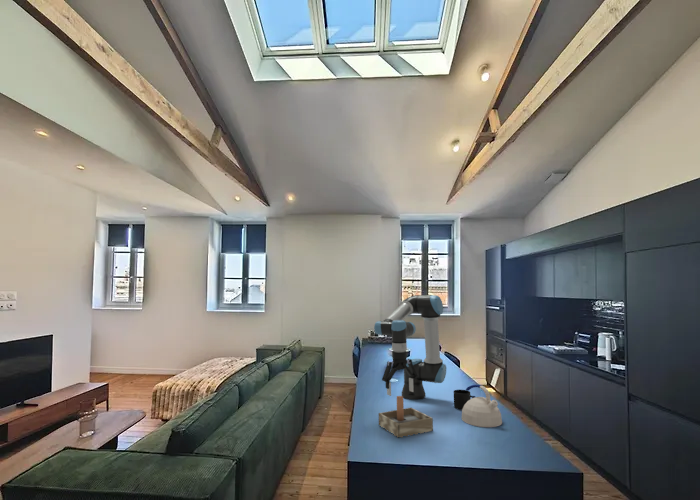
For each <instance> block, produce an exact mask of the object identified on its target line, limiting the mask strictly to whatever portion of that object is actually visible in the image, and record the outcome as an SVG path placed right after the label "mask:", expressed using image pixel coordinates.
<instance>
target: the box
mask: <svg viewBox="0 0 700 500" xmlns="http://www.w3.org/2000/svg"><path fill="white" fill-rule="evenodd" d="M433 421H434V419H433V417H431V416H429V415H428V414H425V413H424V412H422V411H419V410H417V409H416V408H413V407H407V408H404V420H403V421H398V420H397V409H395V410H389V411H384V412H378V426H379V425H380V426H381V428H382V427H383V428H385V429H386V430H385V429H384V430H385V431H387V430H388V431H389V432H388V431H387V432H388V433H390V432H391V433H393V434H394V435H393V434H392V435H393V436H395V437H396V436H397V437H396V438H398V437H401V438H404V437H403V436H406V437H409V436H408V435H410V436H414V435H413V434H415V435H419V434H418V433H420V434H425V433H429V432H432V431H433V432H434V422H433ZM380 426H379V427H380ZM383 428H382V429H383ZM424 432H425V433H424ZM391 433H390V434H391Z"/></svg>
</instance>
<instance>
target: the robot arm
mask: <svg viewBox="0 0 700 500" xmlns="http://www.w3.org/2000/svg"><path fill="white" fill-rule="evenodd" d="M443 312H444V305H443V301H442V299H441V297H440V296H438V295H432V294H426V295H425V294H423V295H422V294H421V295H419V294H415V295H411V296H409V297H407V298H405V299H404V300H402V301H401V302H400V303H399V304H398V306H397V308H395V309H394V311H392V312H391V313H390V314H389V315H388V316H387V317H386V318H384V319H383V321H382V320H379V321H375V323H374V325H373V326H374V327H373V328H374V329H373V330H374V333H375V334H376V335H380V336H388V337H389V336H391V350H392V352H391V358H392V361H389V360H388V361H387V362H386V367H385V370H384V373H383V375H382V378H381V381H382V382H385V389H386V395H387V396H389V397H390V396H392V382H391V380H392V378H393V377H394V376H395V373H396V372H397V371H400V370H403V386H402V391H401V396H403V399H406V400H410V401H411V400H413V401H417V400H423V399H425V398H426V391H425V388H424V385H423V382H428V383H434V384H442V383H444V381H445V379H446V376H447V365H446V364H445V363H443V359H442V358H441V355H440V354H441V352H440V351H441V350H440V333H439V319H440V318H441V315H442V314H443ZM412 314H418V315H420V317H421V318H422V320H423V325H424V326H423V329H424V343H425V344H424V345H425V346H424V347H425V358H424V359H422V358H408V353H407V352H408V351H407V345H408V344H407V343H408V342H407V338H409V337H411V336H413V335H414V334H415V333H416V331H417V329H416V325H415V323H413V322H411V321H405V319H406V318H407V317H408V316H411V315H412Z"/></svg>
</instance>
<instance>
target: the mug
mask: <svg viewBox="0 0 700 500" xmlns="http://www.w3.org/2000/svg"><path fill="white" fill-rule="evenodd" d="M472 396H473V395H471V391H470V390H469V391H468V390H466V389H454V390H453V407H454V409H456V410H461V411H462V409H463V407H464V405H465V404H466V402H467V401H469V400H470V399H472ZM473 398H475V397H473Z"/></svg>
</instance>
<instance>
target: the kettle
mask: <svg viewBox="0 0 700 500" xmlns="http://www.w3.org/2000/svg"><path fill="white" fill-rule="evenodd" d="M474 388H479V389H481V390H482V391H483V392H484V394H485V397H484V396H475V395H471V396H472V397H471V399H470V400H469V401H467V402H466V404H465V405H464V407H463V409H462V410H461V420H462V421H463V422H464V424H465V423H466V424H468V425H471V426H474V427H479V428H497V427H499V426H501V425H502V424H503V420H502V412H501V410H500V408H499V407H498V406H499V403H498V401H497V400H496V399H492V400H491V396H490V395H491V393H490V392H489V390H488V389H487V388H486V387H485V386H484V385H480V384H472V385H469V386H467V387H466V389H465V390H467V391H470V390H472V389H474ZM473 397H474V398H473Z"/></svg>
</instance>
